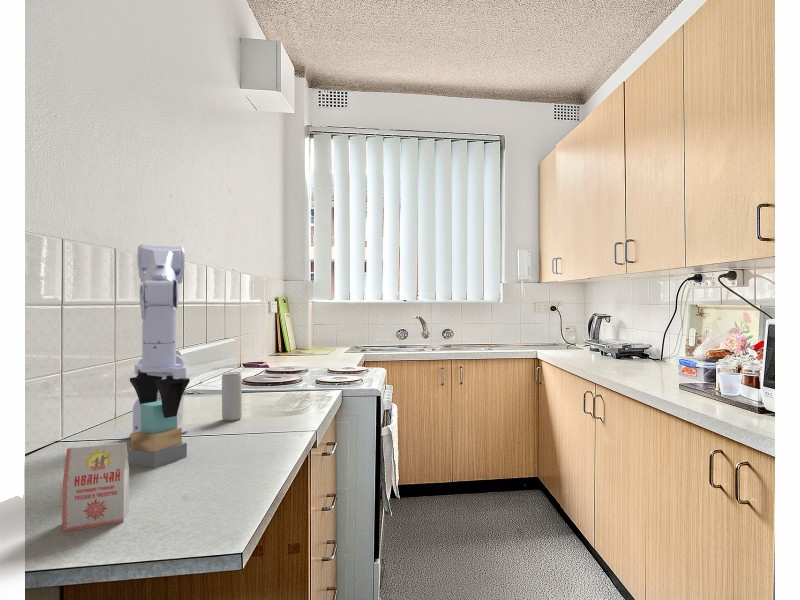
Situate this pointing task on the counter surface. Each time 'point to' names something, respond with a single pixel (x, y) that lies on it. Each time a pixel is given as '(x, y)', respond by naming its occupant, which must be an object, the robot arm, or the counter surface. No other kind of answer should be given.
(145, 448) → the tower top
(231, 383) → the beverage can
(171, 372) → the robot arm
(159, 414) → the teal block
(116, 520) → the tea box
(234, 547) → the counter surface
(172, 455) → the tower base
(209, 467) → the counter surface
